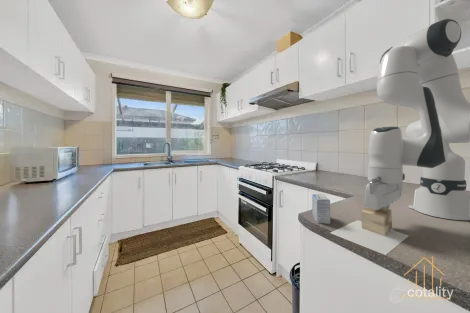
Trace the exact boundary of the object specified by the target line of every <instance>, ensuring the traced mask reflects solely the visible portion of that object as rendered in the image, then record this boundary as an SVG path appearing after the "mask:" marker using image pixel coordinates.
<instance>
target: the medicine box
mask: <svg viewBox="0 0 470 313" xmlns="http://www.w3.org/2000/svg"><path fill="white" fill-rule="evenodd" d="M311 200H312V201H311V205H312V210H311V212H312V217H313V218H314V220H315V221H316V223H317V224H327V225H329V224H331V199H329V197H327V196H326V195H325V194H317V193H316V194H314V193H313V194H312V197H311Z"/></svg>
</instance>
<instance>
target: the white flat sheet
mask: <svg viewBox="0 0 470 313" xmlns="http://www.w3.org/2000/svg"><path fill="white" fill-rule="evenodd" d="M330 234H332V235H334V236H336V237H338V238H342V239H344V240H346V241H349V242H351V243H354V244H357V245H360V246H362V247H364V248H366V249H369V250H372V251H374V252H376V253H379V254H381V255H384V256H387V254H389V253H390V252H392V250H394V249H395V248H396V247H397V246H398V245H400V244H401V243H402V242H403V241H404V240H406V239H407V238H408V237H409V234H405V233H401V232H398V231H395V230H392V229H390V230H389V231H388V232H387V234H386V235H381V234H378V233H375V232H372V231H369V230H366V229H363V228H362V220H359V219H357V220H355V221H353V222H350V223H348V224H346V225H343V226H341V227H339V228H337V229H335V230H333V231H331V232H330Z"/></svg>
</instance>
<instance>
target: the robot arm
mask: <svg viewBox="0 0 470 313" xmlns="http://www.w3.org/2000/svg"><path fill="white" fill-rule="evenodd" d="M461 38H462V29H461V25H459V23H458V21H456V20H455V19H451V18H445V19H442V20H438V21H435V22H433V23H432V24H430V25H429V26H427V27H425V28H422V29H420V30H418V31H417V32H414V33H412V34H410V35H409V36H407V38H405V39H403V40H402V41H400V42H399V43H397V44H395V45H394V46H391V47H390V48H388V49H387V50H385V52H384V53H383V54H382V55H381V58H380V60H379V68H378V71H377V78H376V79H377V80H376V94H377V97H378V98H379V99H380V101H382V102H384V103H386V104H388V105H392V106H397V107H399V106H400V107H406V108H410V109H414V110H416V111H417V112H418V114H419V119H418V120H415V121H413V122H411V123H409V124H408V125H407V127H406V129H405V137H403V132H402V129H401V127H398V126H384V127H376V128H374V129H372V130H371V131H370V135H369V140H368V148H367V149H368V150H367V154H368V159H369V162H368V164H367V181H368V182H369V181H370V182H369V183H367V184H366V186H365V192H364V193H365V194H364V206H365V208H366V207H367V208H371V209H375V210H379V209H381V208H386V209H390V207H391V204H393V203H395V202H397V201H399V200H400V199H401V196H402V191H403V181H405V179H406V174H405V173H404V172H403V168H404V167H403V166H410V167H411V166H412V167H418V168H420V167H421V169H422V170H421V173H422V174H421V176H420V180H419V182H420V183H419V185H420V186H419V187H418V188H416V189H415V190H414V197H413V203H412V204H408V208H409V209H411V210H415V211H416V212H419V213H421V214H425V215H427V216H430V217H431V216H432V217H434V218H435V217H437V218H441V219H446V220H454V221H470V194H468V193H467V192H466V190H467V180H465V175H466V174H465V173H466V160H465V158H464V157H463V156H461V155H459V154H457V153H455V152H454V151H453V150H452V148H451V147H450V144H465V143H470V102H469V101H468V100H467V98H466V97H465V95H464V93H463V90H462V85H461V80H460V76H459V68H458V66H457V63H456V59H455V57H454V55H453V51H454V50H455V49H456V47H458V45H459V42H460V41H461Z"/></svg>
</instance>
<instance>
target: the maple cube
mask: <svg viewBox="0 0 470 313" xmlns="http://www.w3.org/2000/svg"><path fill="white" fill-rule="evenodd" d="M392 214H393V213H392V209H390V208H389V209H386V208H381V209H379V210H375V209H371V208H367V207H366V206H365V207H364V208H363V209H362V210H361V211H360V215H361V220H360V221H362V228H363V229H366V230H369V231H372V232H375V233H378V234H381V235H386V234H387V232H388V231H389V230H392V229H393V219H392V218H393V215H392Z"/></svg>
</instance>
